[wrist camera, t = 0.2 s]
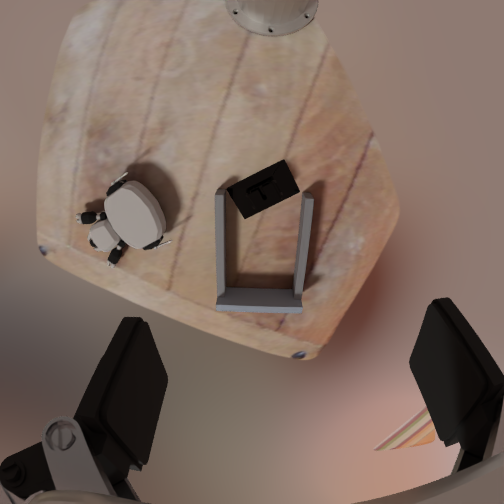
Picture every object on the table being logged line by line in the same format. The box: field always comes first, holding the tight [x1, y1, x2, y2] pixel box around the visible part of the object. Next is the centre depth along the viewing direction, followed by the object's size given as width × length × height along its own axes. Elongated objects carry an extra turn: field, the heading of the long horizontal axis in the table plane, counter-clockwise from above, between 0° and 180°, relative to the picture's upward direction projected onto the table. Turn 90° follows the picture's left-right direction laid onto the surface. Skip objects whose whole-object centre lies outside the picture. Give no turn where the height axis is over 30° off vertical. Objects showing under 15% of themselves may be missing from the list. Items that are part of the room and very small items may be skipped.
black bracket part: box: [226, 160, 300, 219], centre depth 42 cm, size 12×7×5 cm, turn 118°
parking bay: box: [215, 189, 314, 313], centre depth 45 cm, size 18×14×5 cm
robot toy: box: [76, 172, 173, 268], centre depth 44 cm, size 12×4×15 cm
